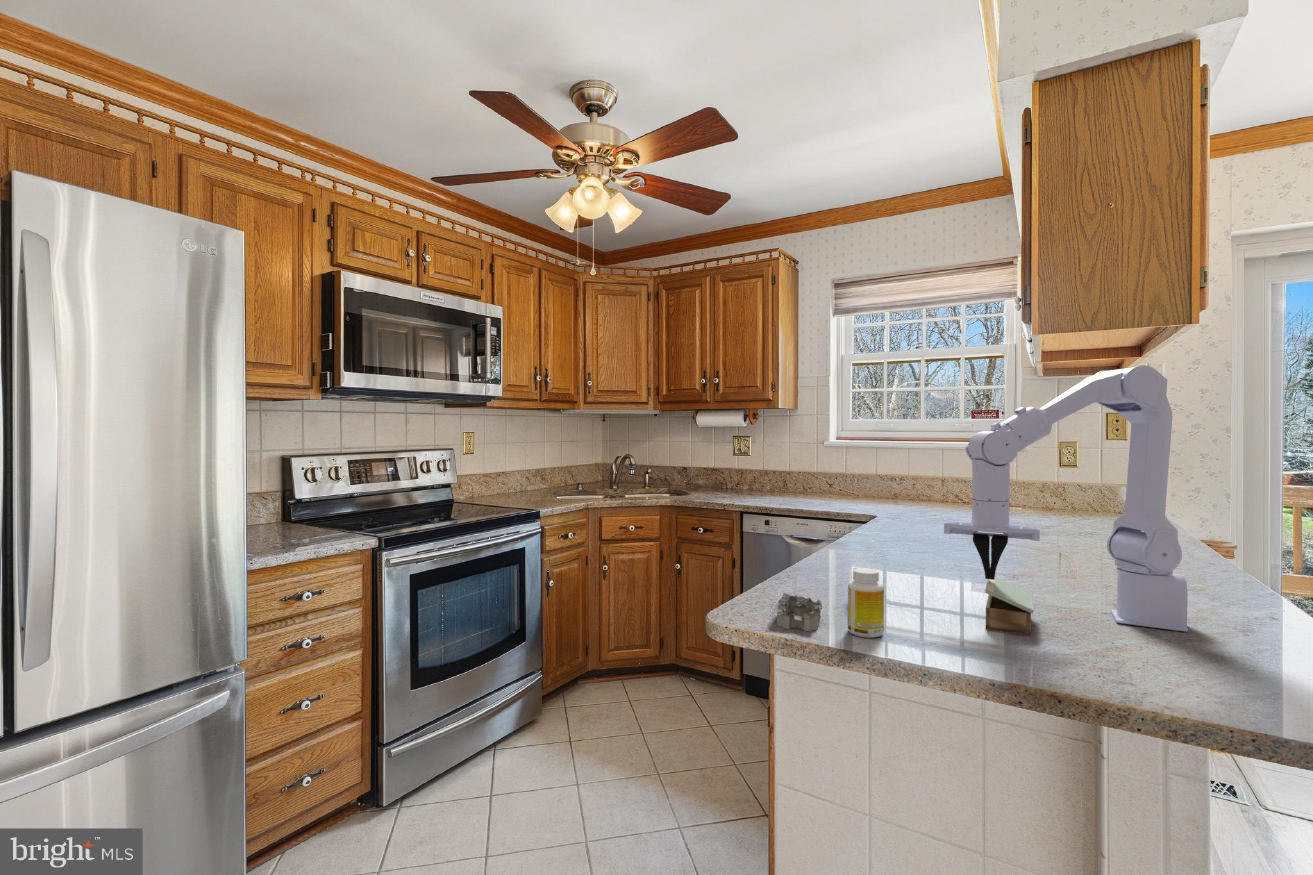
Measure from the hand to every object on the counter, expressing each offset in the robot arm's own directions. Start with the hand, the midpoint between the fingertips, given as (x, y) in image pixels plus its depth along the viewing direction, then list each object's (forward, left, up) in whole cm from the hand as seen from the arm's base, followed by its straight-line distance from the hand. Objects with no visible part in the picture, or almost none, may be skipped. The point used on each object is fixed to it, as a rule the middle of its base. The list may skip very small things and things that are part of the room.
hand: (990, 578), depth 108 cm
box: (-3, 0, -7) cm, 8 cm away
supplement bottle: (+17, +18, -8) cm, 26 cm away
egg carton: (+29, +17, -8) cm, 34 cm away
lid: (-3, 0, -2) cm, 4 cm away
